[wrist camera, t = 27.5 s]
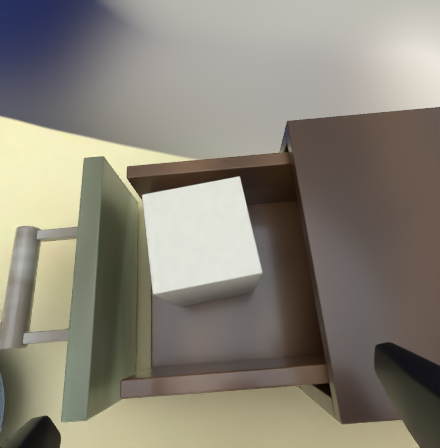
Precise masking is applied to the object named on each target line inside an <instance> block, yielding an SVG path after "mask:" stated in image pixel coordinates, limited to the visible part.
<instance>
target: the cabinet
mask: <svg viewBox="0 0 440 448" xmlns="http://www.w3.org/2000/svg"><path fill="white" fill-rule="evenodd" d="M283 152H289V156H290V162H291V167H292V173H293V179H294V184H295V190H296V196H297V201H298V207H299V213H300V219H301V224H302V230H303V236H304V241H305V247H306V253H307V258H308V264H309V270H310V276H311V281H312V287H313V293H314V298H315V304H316V310H317V315H318V321H319V327H320V333H321V338H322V344H323V350H324V355H325V361H326V367H327V372H328V378H329V383H325V384H312V385H299V388H300V389H302V390H303V391H304V392H305V393H306V394H307V395H308V396H310V397H311V398H312V399H313V400H314V401H315V402H317V403H318V404H319V405H320V406H321V407H322V408H324V409H325V410H326V411H327V412H328V413H329V414H331V415H332V416H333V417H334V418H335V419H337V420H338V421H339V422H340V423H341V424H352V423H365V422H379V421H392V420H402V419H401V417H400V415H399V413H398V412H397V410H396V408H395V406H394V405H393V403H392V401H391V399H390V398H389V396H388V394H387V392H386V390H385V389H384V387H383V385H382V383H381V382H380V380H379V378H378V376H377V374H376V372H375V368H374V354H375V346H376V345H377V344H381V343H385V342H392V343H394V344H396V345H398V346H400V347H403V348H405V349H407V350H409V351H411V352H413V353H415V354H417V355H419V356H421V357H423V358H425V359H428V360H430V361H432V362H434V363H436V364H438V365H440V107H436V108H425V109H414V110H403V111H393V112H381V113H371V114H359V115H348V116H337V117H327V118H316V119H305V120H294V121H287V124H286V128H285V132H284V136H283V140H282V144H281V148H280V152H279V153H283Z"/></svg>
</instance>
